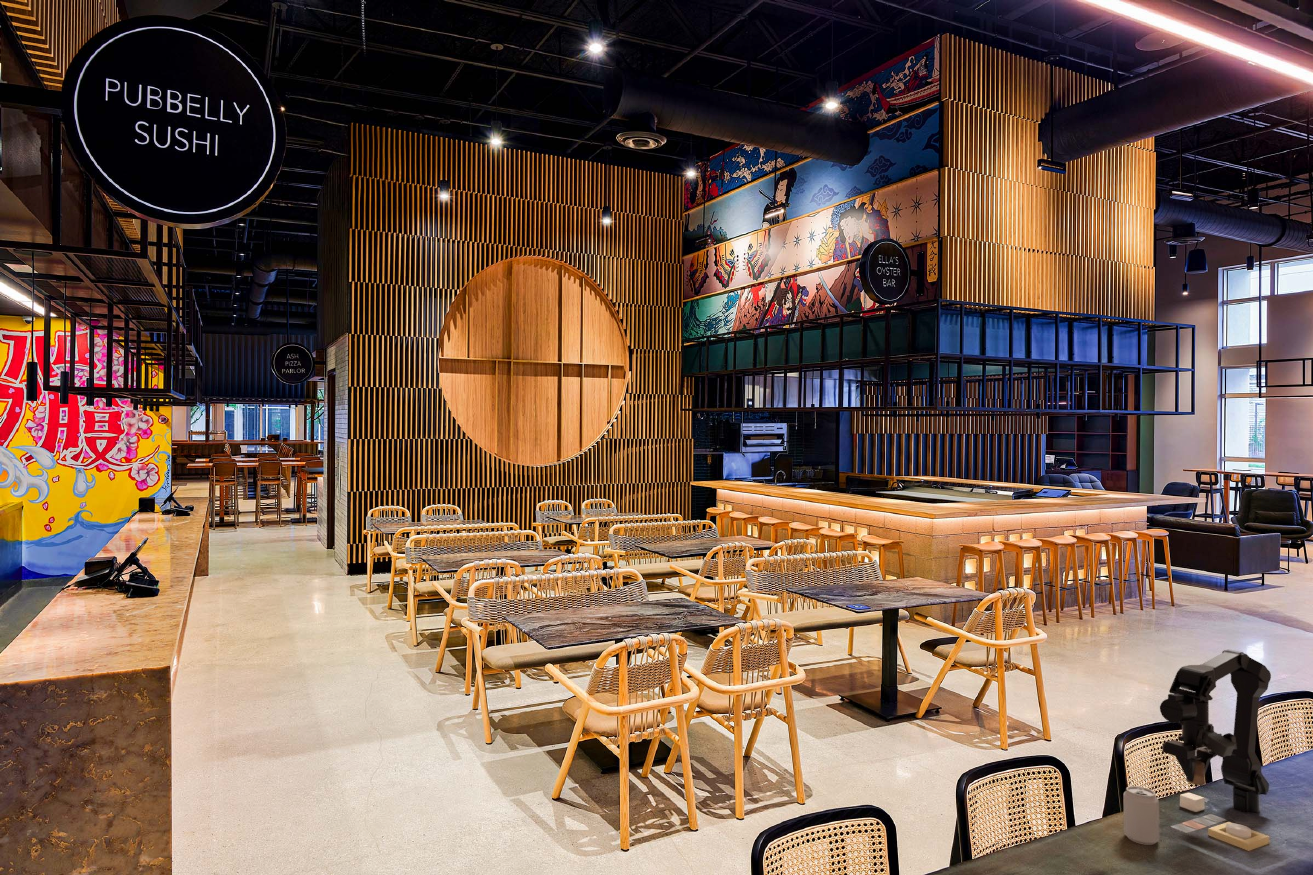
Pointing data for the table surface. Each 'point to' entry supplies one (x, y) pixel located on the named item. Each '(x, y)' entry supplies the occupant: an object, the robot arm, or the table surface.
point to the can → (1141, 815)
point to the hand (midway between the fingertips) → (1195, 779)
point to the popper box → (1248, 844)
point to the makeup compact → (1197, 825)
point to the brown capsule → (1199, 774)
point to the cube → (1192, 802)
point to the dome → (1238, 830)
